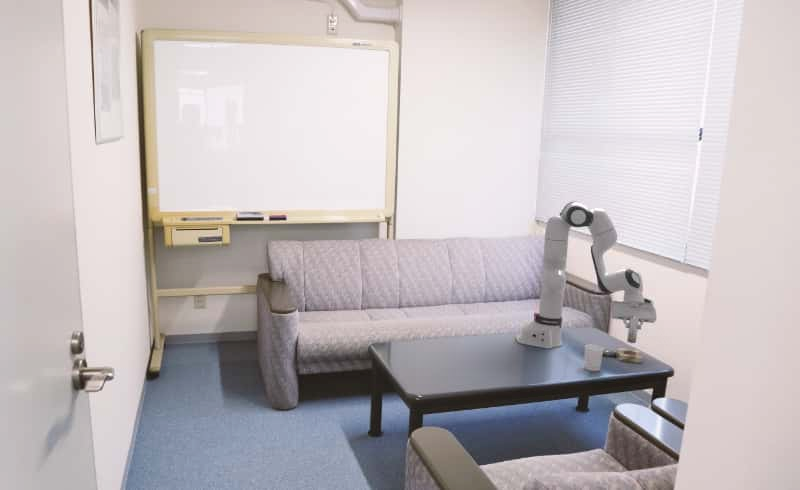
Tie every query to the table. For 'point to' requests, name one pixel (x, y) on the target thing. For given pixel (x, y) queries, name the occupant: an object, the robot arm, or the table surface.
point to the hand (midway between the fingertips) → (633, 328)
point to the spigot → (632, 329)
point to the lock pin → (609, 353)
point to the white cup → (593, 357)
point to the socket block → (629, 355)
